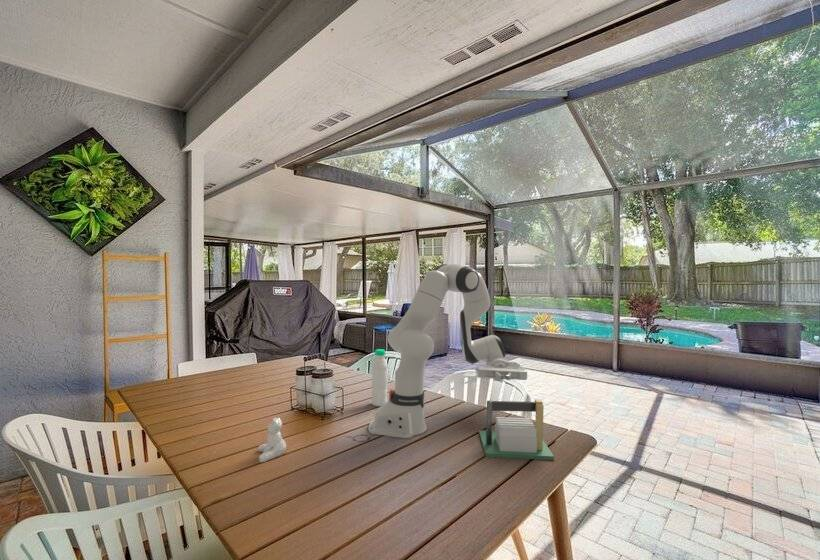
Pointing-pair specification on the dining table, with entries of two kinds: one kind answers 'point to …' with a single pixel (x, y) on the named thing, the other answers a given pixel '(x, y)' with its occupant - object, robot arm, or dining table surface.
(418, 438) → the dining table surface
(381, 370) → the water bottle
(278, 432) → the white creature statuette
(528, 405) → the retention bar
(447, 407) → the dining table surface
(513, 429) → the board
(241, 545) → the dining table surface
